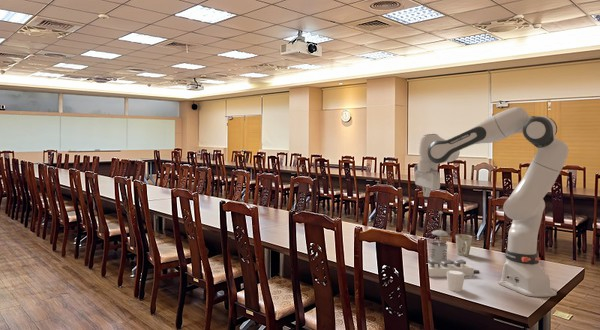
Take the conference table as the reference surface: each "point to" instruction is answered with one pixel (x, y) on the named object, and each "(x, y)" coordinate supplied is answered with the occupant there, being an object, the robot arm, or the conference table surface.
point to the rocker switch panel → (442, 271)
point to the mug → (463, 244)
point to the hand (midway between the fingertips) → (426, 196)
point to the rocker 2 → (459, 262)
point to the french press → (436, 250)
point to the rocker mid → (446, 262)
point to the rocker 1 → (433, 262)
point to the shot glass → (455, 280)
